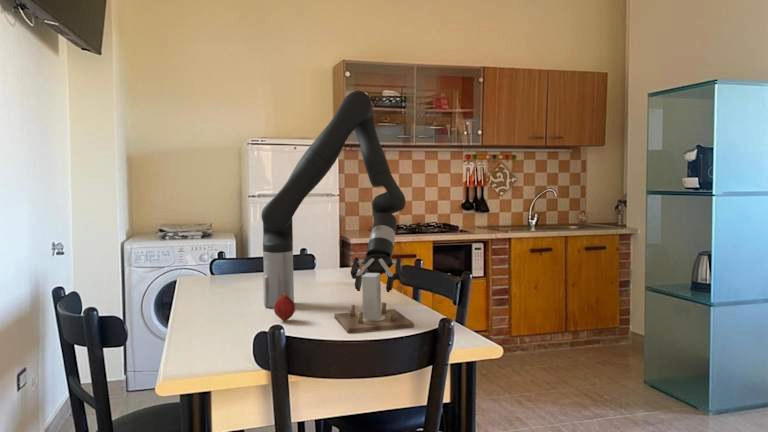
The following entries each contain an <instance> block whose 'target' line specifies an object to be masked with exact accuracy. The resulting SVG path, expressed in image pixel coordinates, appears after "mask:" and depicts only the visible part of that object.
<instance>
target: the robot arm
mask: <svg viewBox="0 0 768 432" xmlns="http://www.w3.org/2000/svg"><path fill="white" fill-rule="evenodd" d="M373 112H374V108H373V103H372V99H371V98H370V96H369V95H368V94H367V93H366V92H364V91H361V90H354V91H352V92H350V93H349V94H347V95H346V96H345V97H344V99H343V100H342V102H341V104H340V105H339V107H338V109H337V111H336V112H335V114H334V115H333V117H332V119H331V120H330V121H329V122H328V124H327V125H326V126H325V128H324V129H323V130H322V131H321V132H320V133H319V135H318V136H317V137H316V139H314V141H313V142H312V143H311V145H310V146H308V148H307V149H306V151H305V152H304V153H303V155H302V156H301V157H300V158H299V160H298V162H297V164H296V165H295V167H294V169H293V170H292V172H291V173H290V175H289V177H288V179H287V181H286V182H285V184H284V185H283V186H282V188H281V189H280V190H279V191H278V192H277V193H276V194H275V195H274V197H273V198H272V199H271V200H270V201H269V202H268V203H266V204H265V205H264V207H263V208H262V210H261V221H262V231H263V232H262V233H263V234H262V235H263V237H262V255H263V256H262V259H263V275H262V281H263V283H262V284H263V285H262V286H263V305H264V308H273V309H274V305H275V303H276V301H277V300H278V299H279V298H280V297H282V294H283V293H285V294H286V295H287V296H288V297H289V298H290V299H291V300H292V301H293V302H294V303H295V288H294V287H295V285H294V283H295V282H294V251H293V250H294V245H293V244H294V243H293V242H294V241H293V240H294V239H293V238H294V235H293V230H294V229H293V216H294V215H295V214H296V212H297V210H298V208H299V207H300V205H301V204H302V203H303V201H304V200H305V198H306V197H307V196H308V195H309V194H310V193H311V192H312V191H313V190H314V189H315V188H316V187H317V186H318V184H319V183H320V182H321V181H322V180H323V179H324V178H325V176H326V175H327V174H328V173H329V171H330V170H331V168H332V167H333V166H334V164H335V163H336V161H337V160H338V158H339V155H340V154H341V152H342V149H343V148H344V146H345V144H346V142H347V140H348V138H349V136H350V135H351V134H352V133H353V132H355V136H356V138H357V141H358V143H359V147H360V151H361V155H362V156H361V157H362V160H363V163H364V166H365V167H364V168H365V170H366V174H367V176H368V179H369V183H370V185H371V186H372V187H373V188H379V187H383V188H384V189H385V190H386V192H383V193H379V194H378V195H376V196H375V197H374V198H373V199H372V202H371V209H372V216H373V217H372V218H373V223H372V227H371V233H370V235H369V239H368V244H367V248H366V254H365V257H364V258H363V259H361V258H360V259H359V257H357V256H356V257H354V259H353V263H352V265H351V269H350V275H351V279H353V280H355V281H354V288H355V290H356V291H357V292H361V289H362V276H363V275H365V274H366V273H380V275H383V274H384V275H385V276H386V277H387V280H386V286H385V291H386V292H387V293H390V292H391V291H392V290H393V287H394V286H393V285H394V281H400V280H401V279H402V266H403V264H402V259H401V258H400V257H398V258H397V259H392V258H393V254H394V247H395V244H396V243H395V240H396V231H397V230H396V229H397V222H398V221H397V218H396V216H395V215H394V214H396V213H398V212H401V211H402V210H404V209H405V206H406V202H407V201H406V197H405V194H404V193H403V191H402V190H401V188H400V186H399V185H398V184H397V182H396V180H395V179H394V177H393V175H392V172H391V169H390V166H389V164H388V160H387V158H386V155H385V152H384V149H383V147H382V145H381V142H380V139H379V137H378V134H377V131H376V125H375V119H374V113H373ZM392 266H394V268H395V273H393V272H392V271H391V269H390V268H391V267H392ZM359 268H360V270H359Z"/></svg>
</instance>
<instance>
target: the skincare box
mask: <svg viewBox="0 0 768 432" xmlns="http://www.w3.org/2000/svg"><path fill="white" fill-rule="evenodd" d="M381 286H382V285H381V274H380V273H366V274H365V275H363V276H362V284H361V289H362V290H361V291H362V312H363V319H364V320H378V318H379V317H380V315H381V310H382V309H381V303H382V296H381V292H382V291H381V288H382V287H381Z"/></svg>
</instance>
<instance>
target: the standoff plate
mask: <svg viewBox="0 0 768 432" xmlns="http://www.w3.org/2000/svg"><path fill="white" fill-rule="evenodd" d="M349 311H350V312H340V313H339V312H338V313H334V314H333V317H334V320H335V321H337V323H338V324H339V325H340V326H341V327H342V328H343V329H344V330H345V332H347V334H354V333H355V334H356V333H367V332H377V331H387V330H388V331H389V330H399V329H412V328H413V329H414V328H415V323H414V322H413V321H412V320H410V319H409V318H407V317H406V316H405V315H403V314H402V313H400V312H399V311H398V310H397V309H395V308H391V309H387V302H381V315H380V317H379V318H378V320H364V319H363V311H356V305H355V304H350V305H349Z"/></svg>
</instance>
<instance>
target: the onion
mask: <svg viewBox="0 0 768 432" xmlns="http://www.w3.org/2000/svg"><path fill="white" fill-rule="evenodd" d="M295 311H296V307H295V301H294V302H293V301H292V300H291V299H290V298H289V297H288V296H287V295H286V294H285V293H283V294H282V297H280V298H279V299H278V300H277V301H276V303H275V305H274V308H273V312H274V315H276V317H278V318H279V319H280V320H282V321H283V322H287V321H288V320H289V319H290V318H291V317H292V316H293V315H294V314H295Z"/></svg>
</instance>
